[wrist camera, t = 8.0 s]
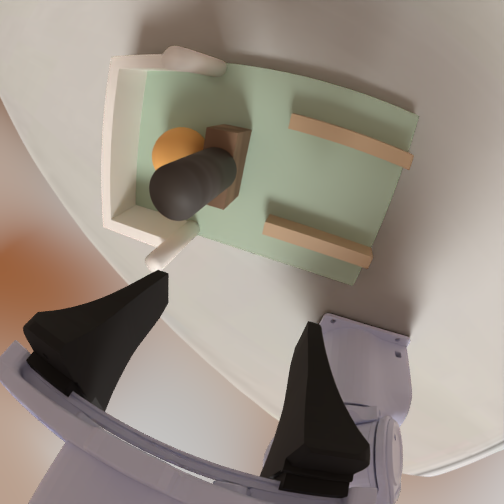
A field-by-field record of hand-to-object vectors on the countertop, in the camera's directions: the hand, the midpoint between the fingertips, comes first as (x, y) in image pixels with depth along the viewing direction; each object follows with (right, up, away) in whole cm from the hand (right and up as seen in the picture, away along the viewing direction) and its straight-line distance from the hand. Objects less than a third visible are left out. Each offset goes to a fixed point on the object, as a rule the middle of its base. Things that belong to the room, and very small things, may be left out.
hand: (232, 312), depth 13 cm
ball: (-4, +10, +5) cm, 11 cm away
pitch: (+1, +10, +7) cm, 12 cm away
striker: (0, +9, +6) cm, 11 cm away
